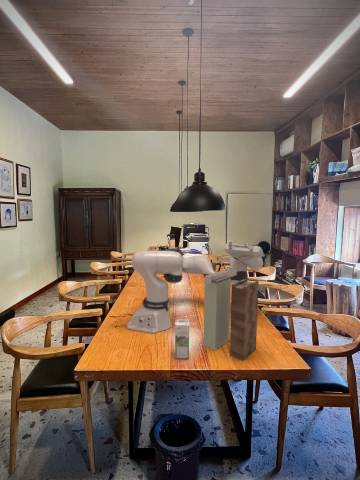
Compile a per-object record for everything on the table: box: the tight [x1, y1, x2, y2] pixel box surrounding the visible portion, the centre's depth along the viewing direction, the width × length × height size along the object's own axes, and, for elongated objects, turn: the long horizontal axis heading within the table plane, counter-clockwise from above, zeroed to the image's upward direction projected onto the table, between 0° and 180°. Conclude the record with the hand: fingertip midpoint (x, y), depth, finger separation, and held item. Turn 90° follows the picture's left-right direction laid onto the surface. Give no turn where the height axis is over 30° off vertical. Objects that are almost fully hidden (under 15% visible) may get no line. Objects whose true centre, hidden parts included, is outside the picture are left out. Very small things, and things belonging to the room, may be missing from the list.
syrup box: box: [174, 319, 190, 360], centre depth 113 cm, size 6×6×14 cm
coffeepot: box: [210, 259, 222, 272], centre depth 236 cm, size 15×9×18 cm, turn 70°
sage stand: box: [203, 276, 232, 351], centre depth 123 cm, size 12×6×30 cm, turn 140°
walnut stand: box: [229, 278, 259, 361], centre depth 115 cm, size 12×6×30 cm, turn 140°
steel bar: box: [204, 267, 237, 284], centre depth 124 cm, size 22×3×3 cm, turn 141°
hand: (237, 244), depth 141 cm, fingers open, 8 cm apart
